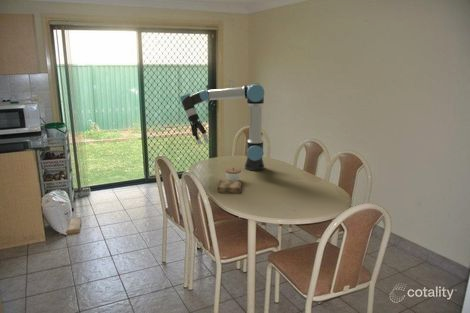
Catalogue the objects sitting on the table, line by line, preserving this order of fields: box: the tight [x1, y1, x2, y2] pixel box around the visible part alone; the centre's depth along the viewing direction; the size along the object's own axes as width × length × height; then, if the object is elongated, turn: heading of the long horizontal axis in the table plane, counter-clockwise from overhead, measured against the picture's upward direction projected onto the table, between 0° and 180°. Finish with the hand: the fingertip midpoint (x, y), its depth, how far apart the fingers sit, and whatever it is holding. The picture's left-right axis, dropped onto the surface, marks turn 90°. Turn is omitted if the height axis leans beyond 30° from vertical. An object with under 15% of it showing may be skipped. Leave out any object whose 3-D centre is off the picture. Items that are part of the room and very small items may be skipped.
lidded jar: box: [225, 167, 242, 181], centre depth 242 cm, size 11×11×9 cm
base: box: [217, 180, 242, 194], centre depth 226 cm, size 14×14×3 cm
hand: (203, 143), depth 251 cm, fingers open, 13 cm apart
